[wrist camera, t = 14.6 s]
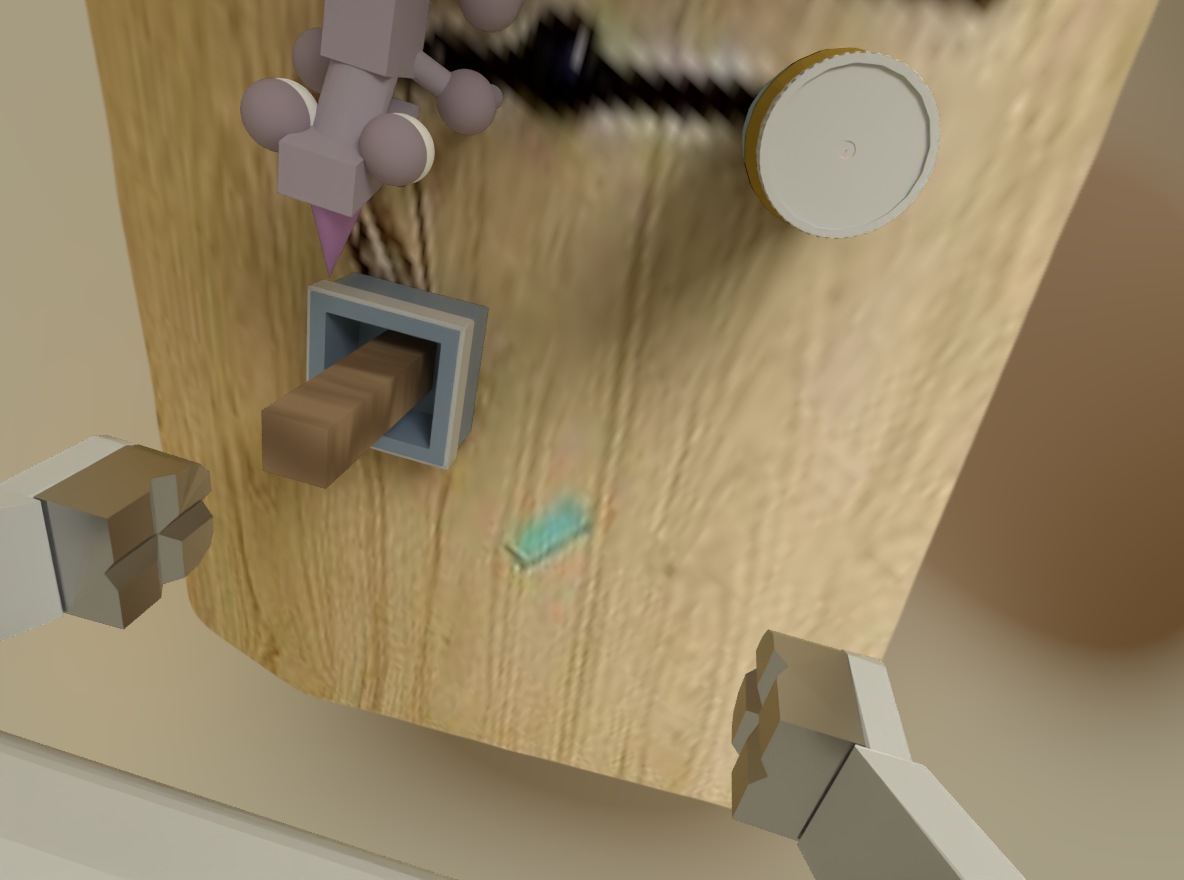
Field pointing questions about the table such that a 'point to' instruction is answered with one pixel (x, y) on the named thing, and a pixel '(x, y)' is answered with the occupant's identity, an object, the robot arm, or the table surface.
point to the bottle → (841, 142)
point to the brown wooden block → (346, 408)
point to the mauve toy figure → (365, 107)
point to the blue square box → (376, 305)
